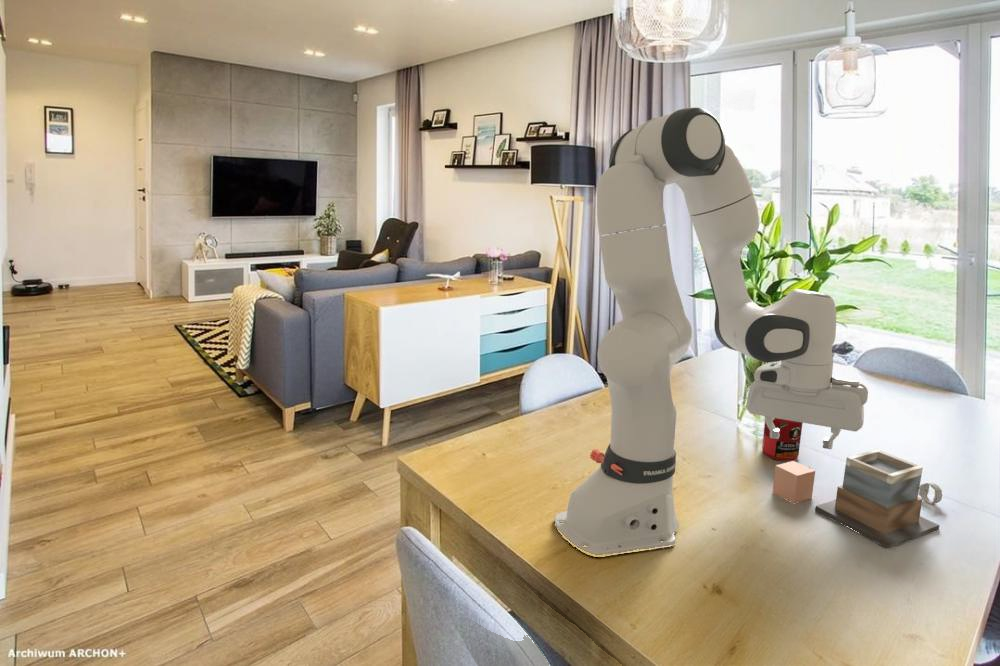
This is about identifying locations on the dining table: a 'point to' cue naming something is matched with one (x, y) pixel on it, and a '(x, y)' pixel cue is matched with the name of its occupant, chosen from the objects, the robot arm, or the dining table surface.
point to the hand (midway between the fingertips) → (800, 442)
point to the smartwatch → (925, 489)
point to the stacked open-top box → (880, 499)
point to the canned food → (783, 440)
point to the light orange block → (793, 481)
